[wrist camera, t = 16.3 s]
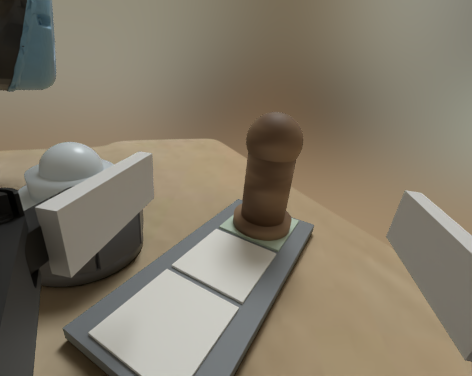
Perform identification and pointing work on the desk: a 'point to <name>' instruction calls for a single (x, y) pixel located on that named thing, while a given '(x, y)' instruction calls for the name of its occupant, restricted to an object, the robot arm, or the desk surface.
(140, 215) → the dome base
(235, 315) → the game board
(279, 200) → the walnut pawn
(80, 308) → the desk surface
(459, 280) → the robot arm
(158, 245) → the desk surface
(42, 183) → the pop-up dome
